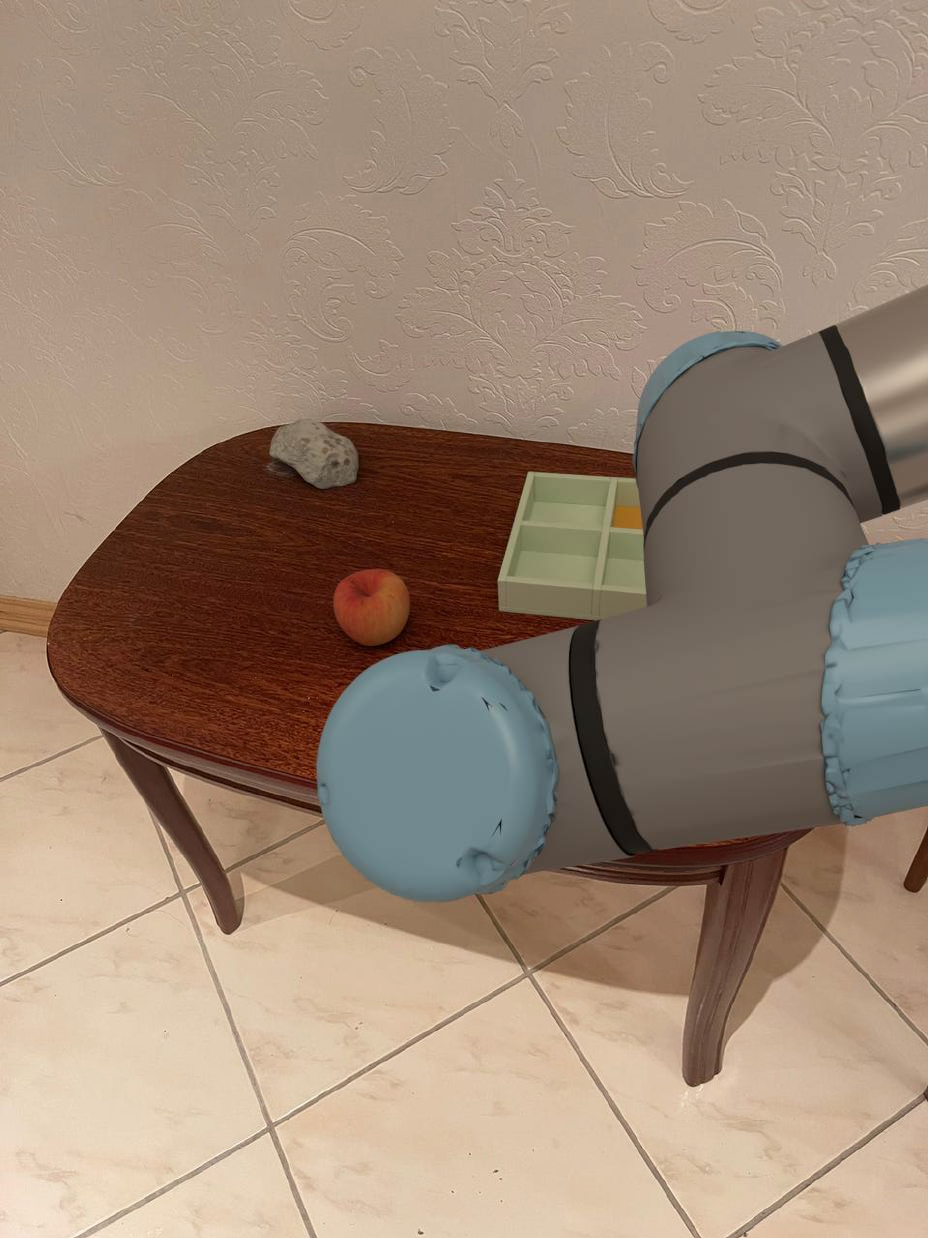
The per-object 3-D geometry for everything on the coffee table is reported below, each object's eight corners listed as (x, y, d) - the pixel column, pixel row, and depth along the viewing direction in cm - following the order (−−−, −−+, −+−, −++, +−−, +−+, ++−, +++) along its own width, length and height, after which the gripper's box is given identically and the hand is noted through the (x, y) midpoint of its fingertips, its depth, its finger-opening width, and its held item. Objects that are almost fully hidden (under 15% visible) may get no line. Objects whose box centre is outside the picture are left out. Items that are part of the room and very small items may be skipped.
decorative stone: (256, 483, 110) (247, 448, 106) (294, 438, 117) (287, 404, 114) (347, 495, 106) (341, 460, 103) (380, 448, 114) (375, 414, 111)
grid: (699, 513, 100) (703, 482, 97) (695, 630, 86) (700, 598, 83) (528, 500, 104) (528, 471, 101) (498, 611, 90) (497, 580, 87)
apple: (427, 641, 87) (420, 579, 82) (362, 673, 84) (349, 610, 79) (391, 601, 92) (382, 540, 86) (328, 630, 89) (314, 568, 84)
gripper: (309, 734, 44) (470, 724, 64) (825, 956, 34) (829, 864, 54) (354, 590, 44) (502, 625, 63) (887, 773, 34) (869, 747, 54)
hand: (653, 735), depth 59 cm, fingers open, 13 cm apart
